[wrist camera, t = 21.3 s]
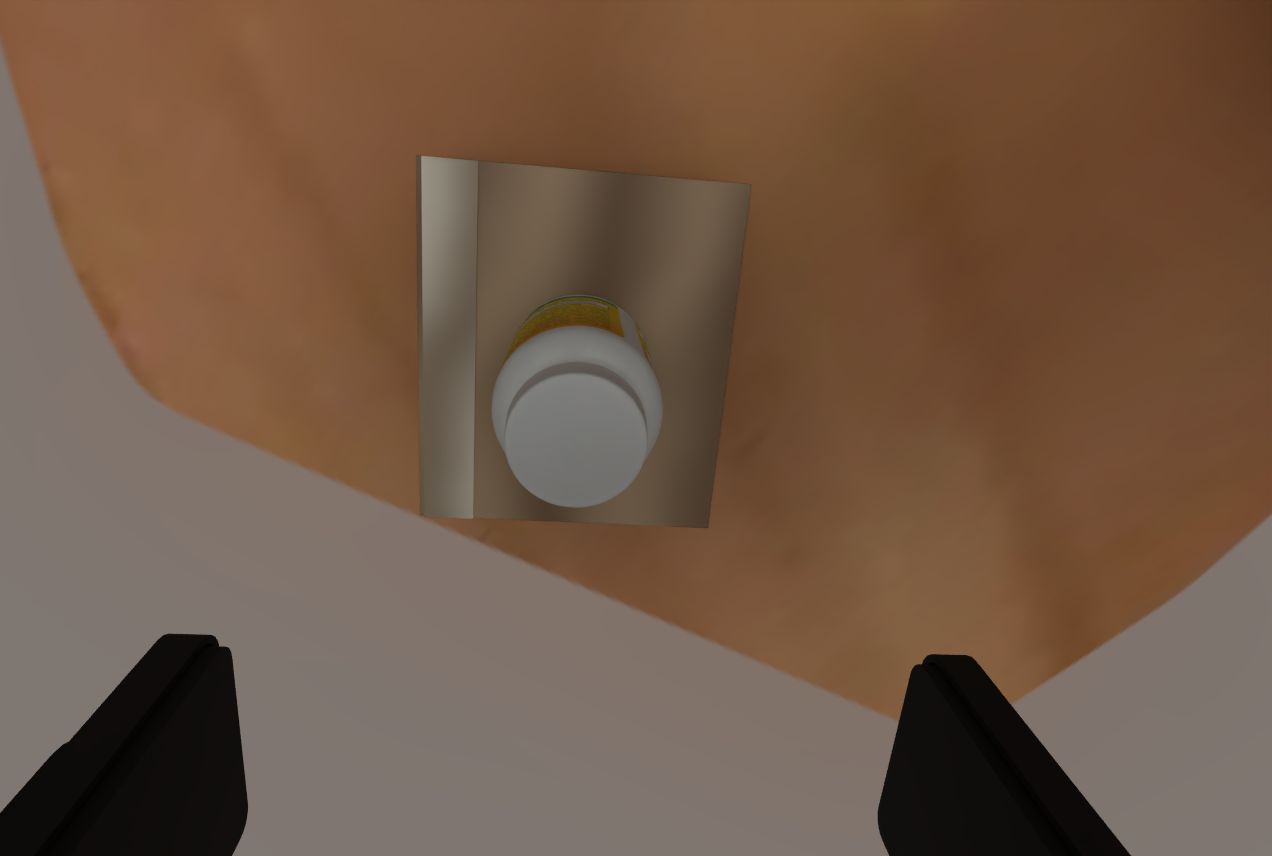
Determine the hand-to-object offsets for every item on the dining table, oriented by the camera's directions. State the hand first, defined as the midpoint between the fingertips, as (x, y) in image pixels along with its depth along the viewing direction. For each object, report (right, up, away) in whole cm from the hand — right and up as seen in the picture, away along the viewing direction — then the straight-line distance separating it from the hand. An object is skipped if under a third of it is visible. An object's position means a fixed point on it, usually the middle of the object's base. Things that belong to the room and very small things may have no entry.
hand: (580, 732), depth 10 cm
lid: (-2, +7, +20) cm, 21 cm away
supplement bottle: (-1, +7, +20) cm, 21 cm away
